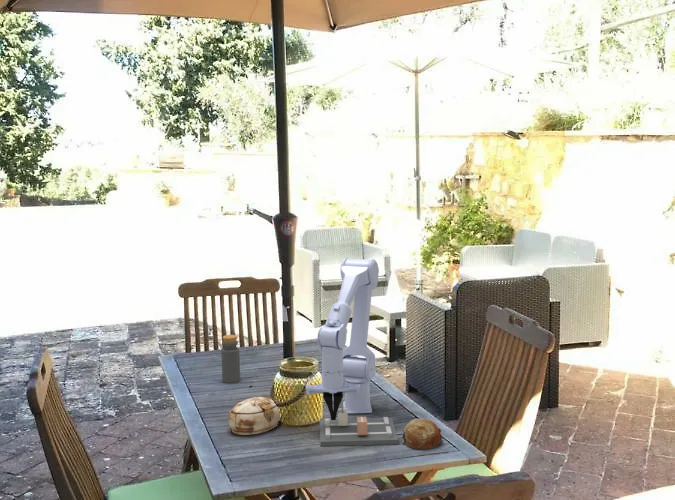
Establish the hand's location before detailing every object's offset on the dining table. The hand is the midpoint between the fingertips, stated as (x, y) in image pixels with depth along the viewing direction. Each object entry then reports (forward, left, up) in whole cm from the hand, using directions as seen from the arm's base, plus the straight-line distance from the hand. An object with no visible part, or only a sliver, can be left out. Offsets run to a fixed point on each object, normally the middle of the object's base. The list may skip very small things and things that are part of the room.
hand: (333, 418), depth 208 cm
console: (+4, +6, -3) cm, 8 cm away
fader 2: (+7, +7, -1) cm, 10 cm away
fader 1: (0, +3, -1) cm, 3 cm away
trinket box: (-4, -22, -3) cm, 22 cm away
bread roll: (+10, +23, -3) cm, 25 cm away
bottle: (-46, -33, -3) cm, 57 cm away
